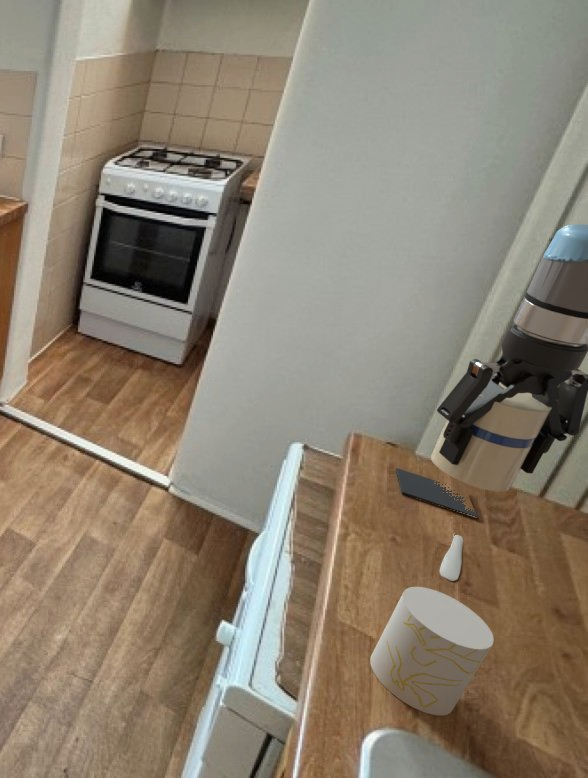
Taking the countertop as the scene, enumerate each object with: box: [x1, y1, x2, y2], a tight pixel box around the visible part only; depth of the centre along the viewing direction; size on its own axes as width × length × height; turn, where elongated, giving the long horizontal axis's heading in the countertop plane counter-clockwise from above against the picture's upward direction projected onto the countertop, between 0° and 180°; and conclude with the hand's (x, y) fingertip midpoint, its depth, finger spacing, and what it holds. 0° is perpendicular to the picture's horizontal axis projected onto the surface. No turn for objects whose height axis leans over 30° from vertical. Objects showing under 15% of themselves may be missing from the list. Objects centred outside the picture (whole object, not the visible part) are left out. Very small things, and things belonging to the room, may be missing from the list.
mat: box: [395, 467, 479, 518], centre depth 109 cm, size 10×8×1 cm
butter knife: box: [439, 534, 464, 582], centre depth 100 cm, size 1×27×3 cm
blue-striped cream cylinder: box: [430, 382, 552, 492], centre depth 91 cm, size 14×9×9 cm
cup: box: [369, 586, 495, 716], centre depth 75 cm, size 8×8×12 cm
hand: (484, 462), depth 91 cm, fingers closed on blue-striped cream cylinder, 9 cm apart
